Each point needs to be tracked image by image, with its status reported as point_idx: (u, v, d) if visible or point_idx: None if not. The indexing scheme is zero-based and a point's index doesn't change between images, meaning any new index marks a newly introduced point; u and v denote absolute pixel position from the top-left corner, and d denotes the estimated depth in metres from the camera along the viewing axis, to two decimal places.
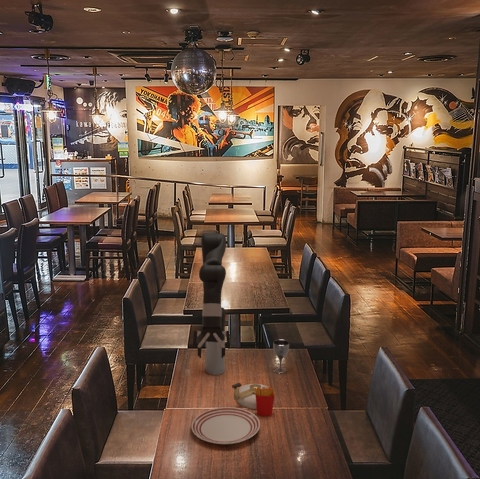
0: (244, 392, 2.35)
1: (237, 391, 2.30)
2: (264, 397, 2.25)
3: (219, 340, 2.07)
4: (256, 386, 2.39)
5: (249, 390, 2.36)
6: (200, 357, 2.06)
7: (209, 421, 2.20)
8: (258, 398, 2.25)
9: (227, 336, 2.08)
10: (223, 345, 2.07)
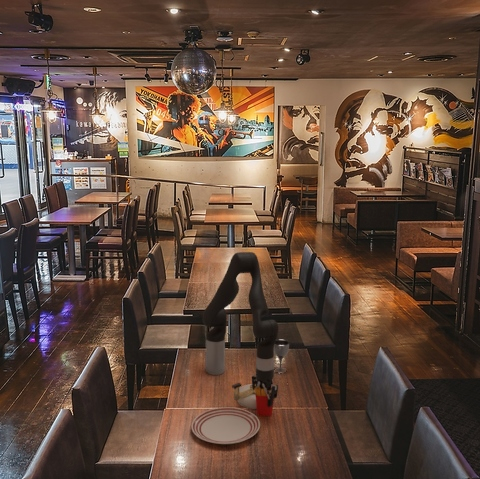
0: (244, 392, 2.35)
1: (237, 391, 2.30)
2: (264, 397, 2.25)
3: (265, 391, 2.23)
4: None
5: (249, 390, 2.36)
6: None
7: (209, 421, 2.20)
8: (258, 398, 2.25)
9: (272, 391, 2.21)
10: (268, 397, 2.23)
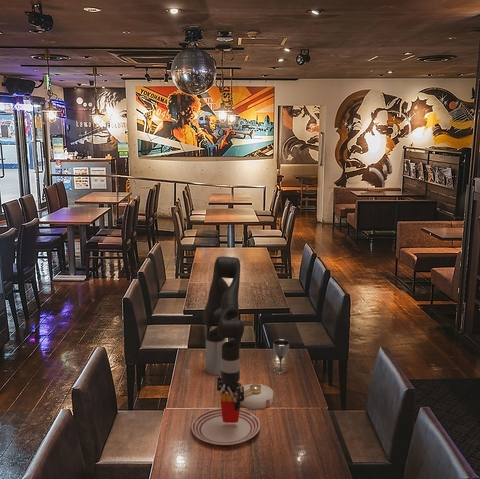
0: (244, 392, 2.35)
1: None
2: (230, 403, 2.14)
3: (232, 394, 2.11)
4: (256, 386, 2.39)
5: (249, 390, 2.36)
6: None
7: (209, 422, 2.20)
8: (223, 404, 2.14)
9: (238, 393, 2.09)
10: (235, 400, 2.11)
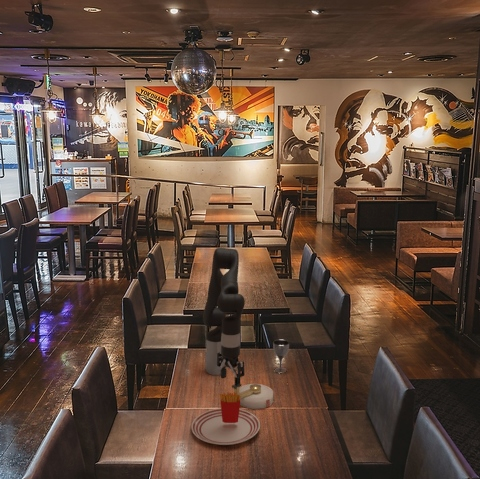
0: (244, 392, 2.35)
1: (237, 391, 2.30)
2: (229, 403, 2.14)
3: (232, 369, 2.09)
4: (256, 386, 2.39)
5: (249, 390, 2.36)
6: None
7: (209, 422, 2.20)
8: (223, 405, 2.14)
9: (238, 368, 2.07)
10: (235, 375, 2.09)
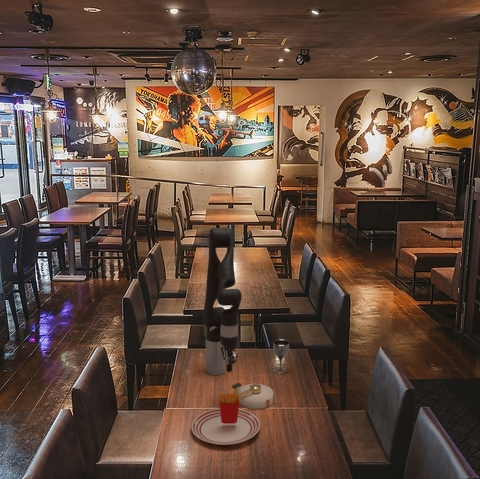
0: (244, 392, 2.35)
1: (237, 391, 2.30)
2: (228, 404, 2.13)
3: (226, 357, 2.33)
4: (256, 386, 2.39)
5: (249, 390, 2.36)
6: None
7: (209, 422, 2.20)
8: (222, 405, 2.13)
9: (231, 359, 2.30)
10: (227, 362, 2.34)
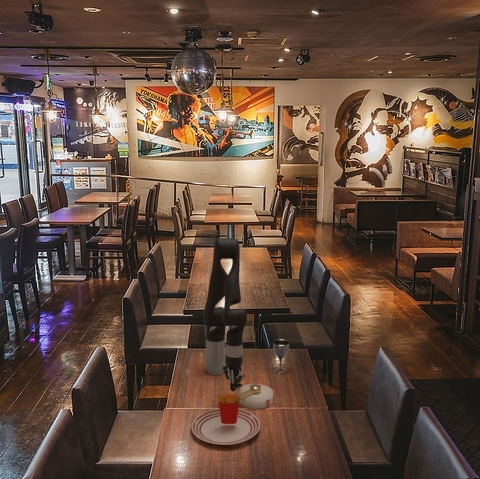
0: (245, 392, 2.34)
1: (238, 392, 2.30)
2: (228, 405, 2.13)
3: (232, 377, 2.31)
4: (256, 386, 2.39)
5: (249, 390, 2.36)
6: (231, 390, 2.34)
7: (209, 422, 2.20)
8: (222, 406, 2.13)
9: (238, 378, 2.29)
10: (232, 382, 2.32)
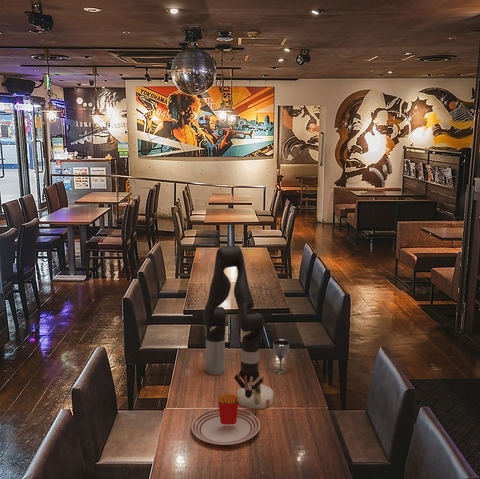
0: None
1: (260, 395, 2.27)
2: (228, 405, 2.12)
3: (250, 383, 2.25)
4: None
5: None
6: (247, 397, 2.28)
7: (209, 422, 2.20)
8: (221, 406, 2.13)
9: (258, 383, 2.25)
10: (250, 388, 2.26)
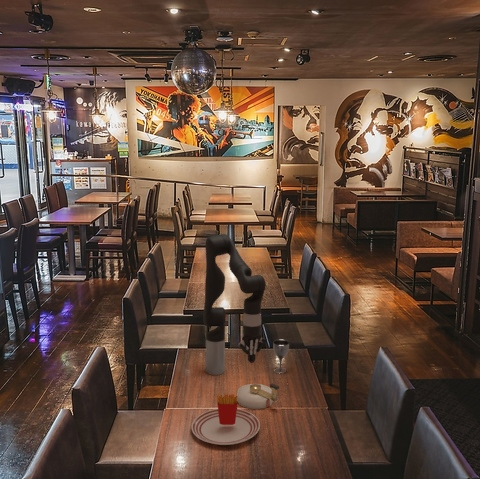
0: (266, 392, 2.34)
1: None
2: (227, 405, 2.12)
3: (256, 346, 2.22)
4: (254, 386, 2.39)
5: (261, 390, 2.36)
6: (252, 362, 2.24)
7: (209, 422, 2.20)
8: (220, 407, 2.12)
9: (262, 344, 2.24)
10: (255, 352, 2.23)
